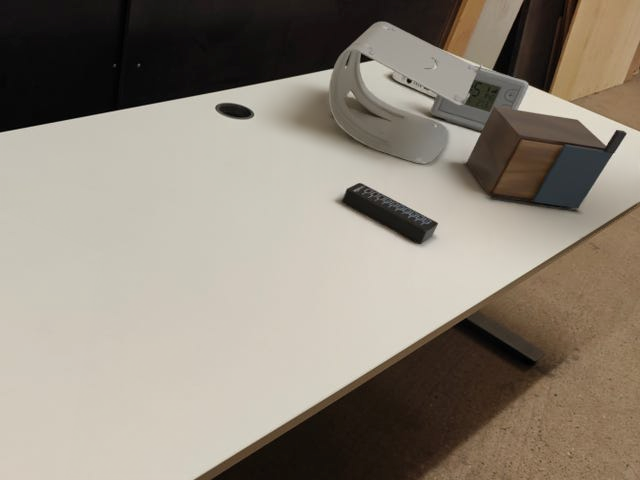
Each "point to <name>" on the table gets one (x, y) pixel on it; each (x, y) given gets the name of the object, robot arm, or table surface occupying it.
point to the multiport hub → (390, 213)
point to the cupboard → (523, 152)
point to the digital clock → (482, 99)
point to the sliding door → (575, 173)
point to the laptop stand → (399, 126)
